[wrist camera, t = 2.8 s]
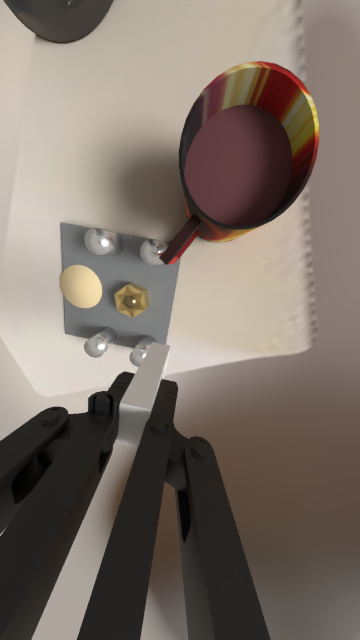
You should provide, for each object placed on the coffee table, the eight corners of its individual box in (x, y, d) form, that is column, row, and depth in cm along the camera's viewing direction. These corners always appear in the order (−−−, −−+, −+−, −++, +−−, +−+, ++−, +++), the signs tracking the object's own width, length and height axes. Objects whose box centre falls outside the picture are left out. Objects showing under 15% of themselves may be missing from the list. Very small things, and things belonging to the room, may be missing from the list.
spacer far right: (140, 333, 32) (130, 347, 27) (157, 337, 32) (150, 351, 27) (138, 348, 33) (128, 364, 28) (155, 352, 33) (148, 369, 28)
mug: (169, 261, 27) (152, 263, 16) (197, 148, 23) (201, 40, 12) (232, 280, 28) (259, 295, 16) (272, 171, 23) (348, 86, 12)
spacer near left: (104, 230, 27) (84, 225, 22) (124, 234, 27) (108, 230, 22) (103, 252, 28) (84, 252, 23) (123, 256, 28) (107, 256, 23)
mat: (59, 222, 27) (57, 221, 27) (182, 245, 27) (182, 245, 27) (64, 332, 34) (62, 333, 33) (164, 353, 33) (163, 354, 33)
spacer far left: (101, 325, 32) (84, 337, 27) (117, 329, 32) (104, 342, 27) (100, 341, 33) (84, 355, 28) (116, 344, 33) (103, 359, 28)
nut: (119, 283, 29) (112, 285, 27) (146, 281, 29) (141, 283, 26) (125, 314, 31) (119, 318, 29) (150, 312, 30) (146, 317, 28)
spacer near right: (151, 239, 27) (141, 236, 22) (172, 243, 27) (166, 241, 22) (149, 261, 28) (138, 263, 23) (168, 265, 28) (162, 267, 23)
